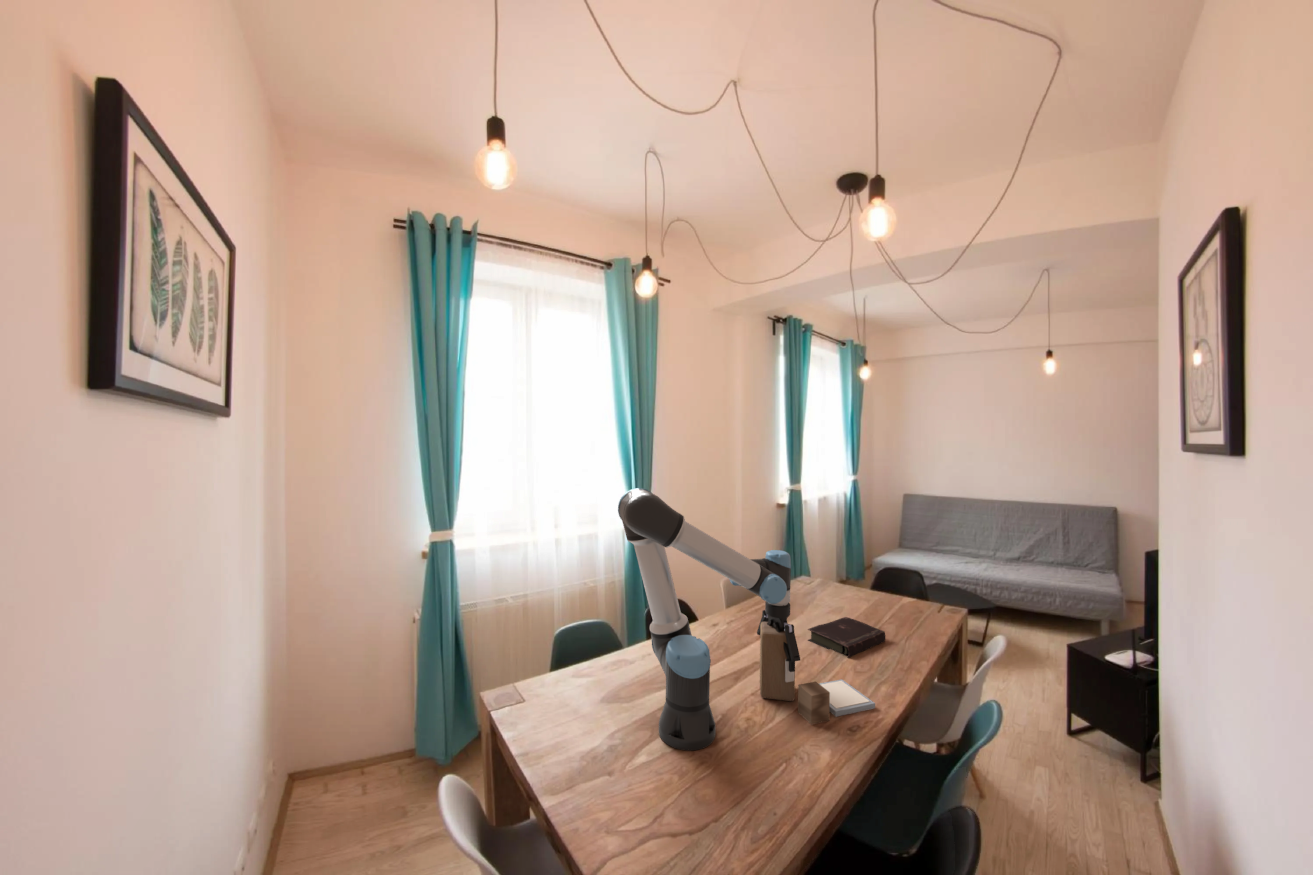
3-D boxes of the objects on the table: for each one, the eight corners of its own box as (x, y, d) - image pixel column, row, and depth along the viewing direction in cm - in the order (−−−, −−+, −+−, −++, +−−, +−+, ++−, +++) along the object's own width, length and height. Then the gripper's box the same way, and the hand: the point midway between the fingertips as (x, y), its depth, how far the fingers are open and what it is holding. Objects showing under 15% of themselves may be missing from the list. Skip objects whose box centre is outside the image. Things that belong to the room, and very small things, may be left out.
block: (794, 703, 137) (795, 635, 137) (760, 698, 139) (761, 632, 139) (791, 685, 147) (792, 622, 147) (759, 681, 149) (760, 619, 149)
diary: (886, 643, 180) (886, 630, 180) (849, 660, 166) (849, 646, 166) (842, 626, 196) (843, 614, 196) (805, 640, 181) (805, 627, 181)
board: (835, 716, 131) (835, 710, 131) (805, 690, 144) (805, 685, 144) (875, 708, 135) (875, 702, 135) (841, 683, 149) (841, 678, 149)
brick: (811, 724, 127) (811, 695, 127) (797, 712, 133) (798, 684, 133) (829, 720, 129) (829, 692, 129) (815, 708, 135) (815, 681, 135)
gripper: (813, 614, 133) (812, 688, 133) (766, 587, 156) (765, 650, 156) (791, 617, 130) (790, 693, 130) (747, 589, 154) (746, 653, 154)
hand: (776, 670), depth 143 cm, fingers closed on block, 13 cm apart
